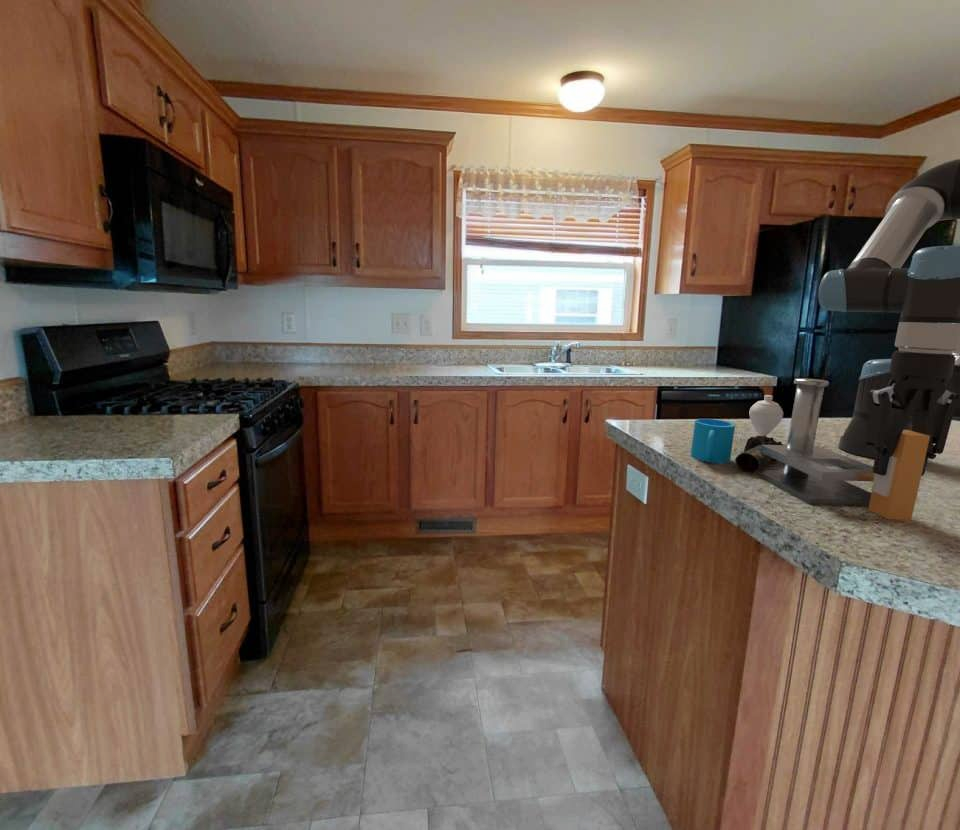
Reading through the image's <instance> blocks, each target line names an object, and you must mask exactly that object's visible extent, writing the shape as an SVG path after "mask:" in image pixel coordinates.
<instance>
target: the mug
mask: <svg viewBox="0 0 960 830" xmlns="http://www.w3.org/2000/svg"><path fill="white" fill-rule="evenodd" d="M735 429H736V425H735V423H733V422H730V421H725V420H721V419H713V418H698V419H695V420H694V426H693V432H692V433H693V434H692V440H691V447H690V457H691V458H692V457H693V459H694V458H695V460H697V459H698V461H700V460H701V462H704V461H706V462H705V463H710V462H713V463H712V464H728V463H730V462H731V458H732V457H731V456H732V449H733V442H734V436H735Z"/></svg>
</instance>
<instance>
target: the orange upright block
mask: <svg viewBox="0 0 960 830" xmlns="http://www.w3.org/2000/svg"><path fill="white" fill-rule="evenodd" d="M929 439H930V436H929V435H925V434H921V433H917V432H914V431H910V430H903V432H902V434H901V437H900V439H899V441H898V444H897V446H896V449H895V451H894V454H893V455H892V456H893V457H896V458H897V462H896V466H895V471H894V476H893V480H892V485H891V490H890V494H889V497H886V496H883V495H880V494H878V493H876V492H873V491H871V498H870V503H869V505H868V507H867V508H868V509H867V510H868V511H869V512H873V513H874V514H877V515H879V516H881V517H883V518H884V519H887V520H912V518H913V513H914V508H915V505H916V501H917V497H918V493H917V492H919V488H920V484H919V483H920V482H921V479H922V476H921V474H922V470H923V465H924V461H925V456H926V452H927V448H928V443H929ZM885 448H886V446H885ZM916 496H917V497H916Z"/></svg>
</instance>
